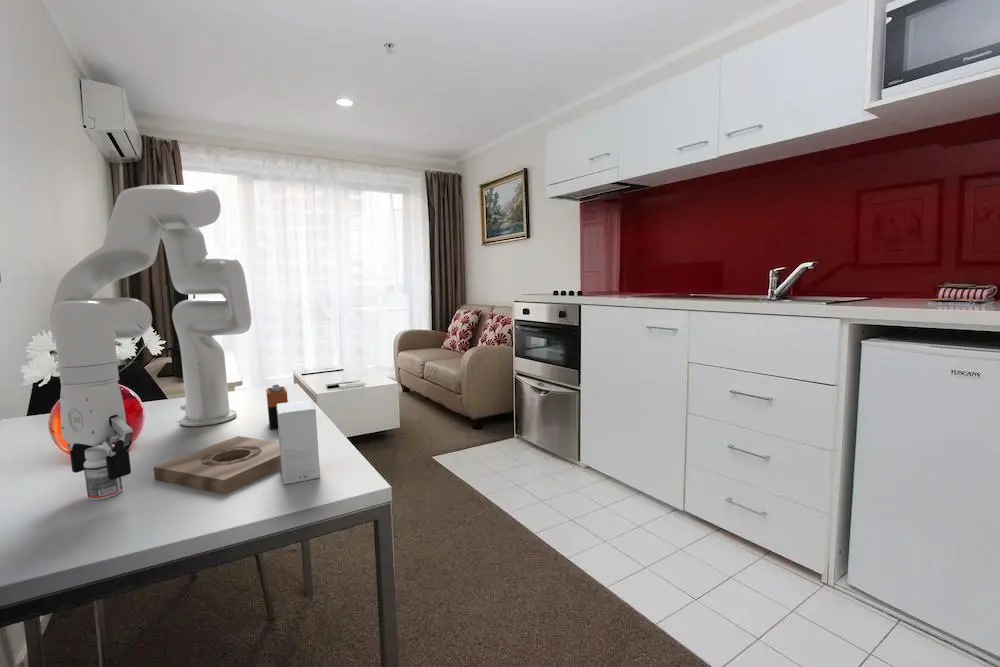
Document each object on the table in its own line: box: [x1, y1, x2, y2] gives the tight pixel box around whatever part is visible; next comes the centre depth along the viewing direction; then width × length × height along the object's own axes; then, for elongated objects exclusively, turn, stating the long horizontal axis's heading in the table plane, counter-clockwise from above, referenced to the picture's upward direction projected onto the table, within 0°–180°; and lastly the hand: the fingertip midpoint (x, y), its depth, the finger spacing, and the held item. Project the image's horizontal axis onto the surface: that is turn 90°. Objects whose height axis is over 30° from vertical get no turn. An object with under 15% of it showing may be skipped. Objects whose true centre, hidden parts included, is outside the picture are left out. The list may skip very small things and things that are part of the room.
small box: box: [277, 399, 321, 486], centre depth 90 cm, size 8×6×13 cm
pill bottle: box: [83, 443, 124, 501], centre depth 84 cm, size 5×5×8 cm
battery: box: [265, 384, 289, 430], centre depth 121 cm, size 4×7×10 cm, turn 28°
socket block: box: [153, 435, 281, 495], centre depth 95 cm, size 18×18×2 cm
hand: (101, 473), depth 84 cm, fingers open, 9 cm apart
